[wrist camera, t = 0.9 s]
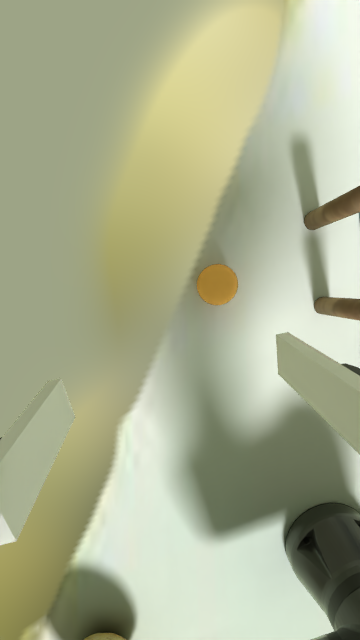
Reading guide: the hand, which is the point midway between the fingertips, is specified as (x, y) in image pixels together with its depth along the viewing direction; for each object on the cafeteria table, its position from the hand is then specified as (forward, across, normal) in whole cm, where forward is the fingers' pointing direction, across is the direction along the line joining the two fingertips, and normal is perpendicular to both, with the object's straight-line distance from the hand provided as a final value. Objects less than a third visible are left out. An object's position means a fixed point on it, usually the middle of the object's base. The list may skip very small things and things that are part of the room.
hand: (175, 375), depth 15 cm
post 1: (+22, -24, -8) cm, 33 cm away
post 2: (+20, -24, +5) cm, 32 cm away
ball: (+19, -8, -2) cm, 20 cm away
